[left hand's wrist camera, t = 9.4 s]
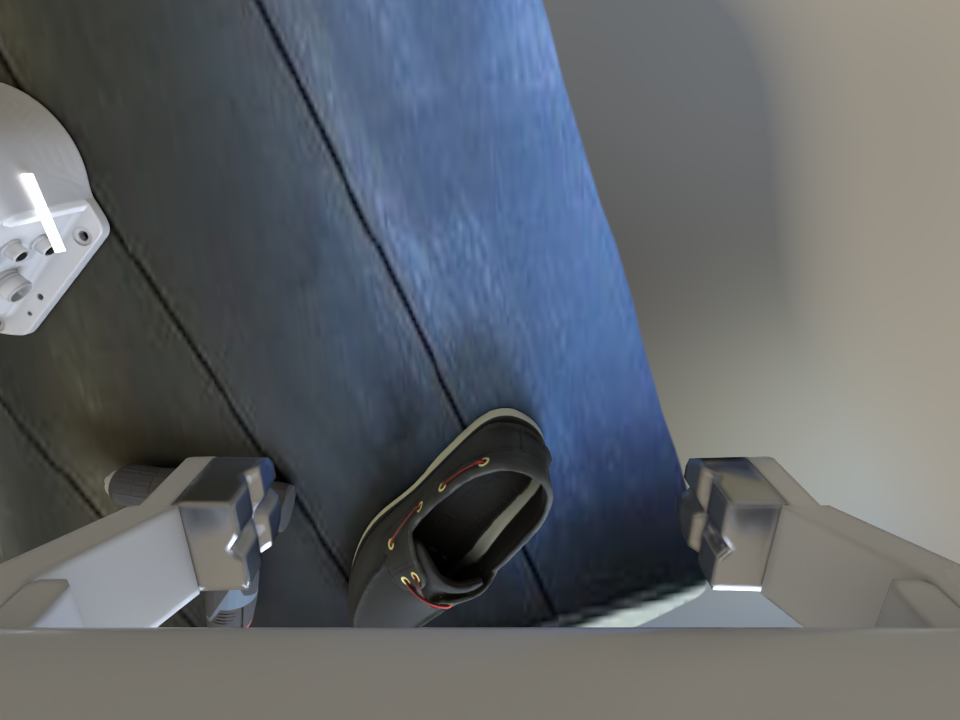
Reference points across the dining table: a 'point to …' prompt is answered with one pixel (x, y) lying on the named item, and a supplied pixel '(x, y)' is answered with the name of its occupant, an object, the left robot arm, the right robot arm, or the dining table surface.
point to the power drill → (221, 605)
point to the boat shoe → (453, 525)
